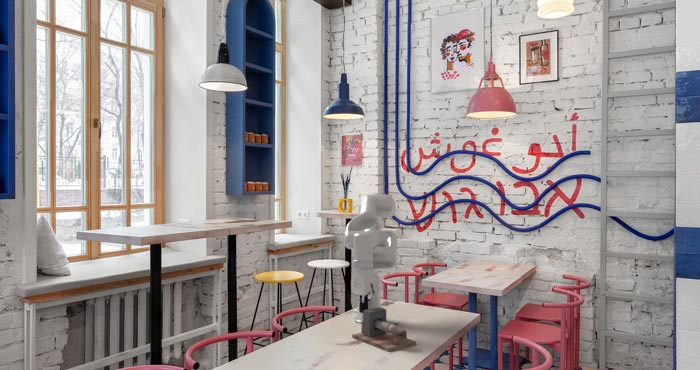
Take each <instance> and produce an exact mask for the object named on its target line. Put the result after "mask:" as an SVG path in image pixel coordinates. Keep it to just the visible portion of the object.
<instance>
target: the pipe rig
mask: <svg viewBox="0 0 700 370" xmlns="http://www.w3.org/2000/svg"><path fill="white" fill-rule="evenodd" d="M374 327H375V328H378V329H380V330H383V331H386V332H387V333H385V334H381V335H377V336H372V337H368V336H366V335H363V321H362V324H361V332H357V333H353V334H352V335H351V336H352V338H351V339H355V340H358V341H360V342H362V343H365V344H367V345H370V346H372V347H375V348H378V349H380V350H383V351H385V352H387V353H388V352H392V351H397V350H401V349H405V348H409V347H412V346H416V345H417V341H416V340H414V339H410V338H407V337H408V335H407V333H408V332H407V330H405V328H404V327H401V326H398V325H395V324H393V323H389V322H387V321H386V322H383V321H380V320H377V319H375V320H374Z"/></svg>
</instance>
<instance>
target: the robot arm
mask: <svg viewBox="0 0 700 370" xmlns="http://www.w3.org/2000/svg"><path fill="white" fill-rule="evenodd" d="M396 208H397V206H396V202H395V199H394V197H393V196H392V195H390V194H367V195H365V196H363V197H362V199H361V201H360V202H359V204H358V215H356V216H355V217H353V218H352V219H351V220H349V222H348V223H347V224H346V226H345V231H344V237H343V243H344V244H343V245H344V246H345V248H346V249H349V250H353V267H352V269H351V280H350V289H351V290H350V291H351V293H353V294H354V295H355V296H356V297H357V306H358V307H357V308H356V309H355V310H354V313H356V316H355V317H354V321H355V323H358V324H361V325H362V321H363V310H368V309H373V308H379V307H380V308H382V307H381V278H380V277H379V276H380V275H378V274H377V272H376V271H375V270H392V269H395V267H396V265H397V259H398V236H397V235H396V233H395V231H393V230H382V225H381V224H380V223H379V218H391V217H393V216H395V214H396V210H397V209H396Z"/></svg>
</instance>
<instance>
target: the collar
mask: <svg viewBox="0 0 700 370" xmlns="http://www.w3.org/2000/svg"><path fill="white" fill-rule="evenodd" d="M380 307H381V306H380ZM380 307H379V308H373V309H368V310H363V335H366V336H368V337H372V336H377V335H381V334H385V333H387V332H386V331H383V330H380V329H378V328H375V327H374V320H375V319H377V320H380V321H383V322H386V323H387V309H386V308H383V307H381V308H380Z"/></svg>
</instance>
